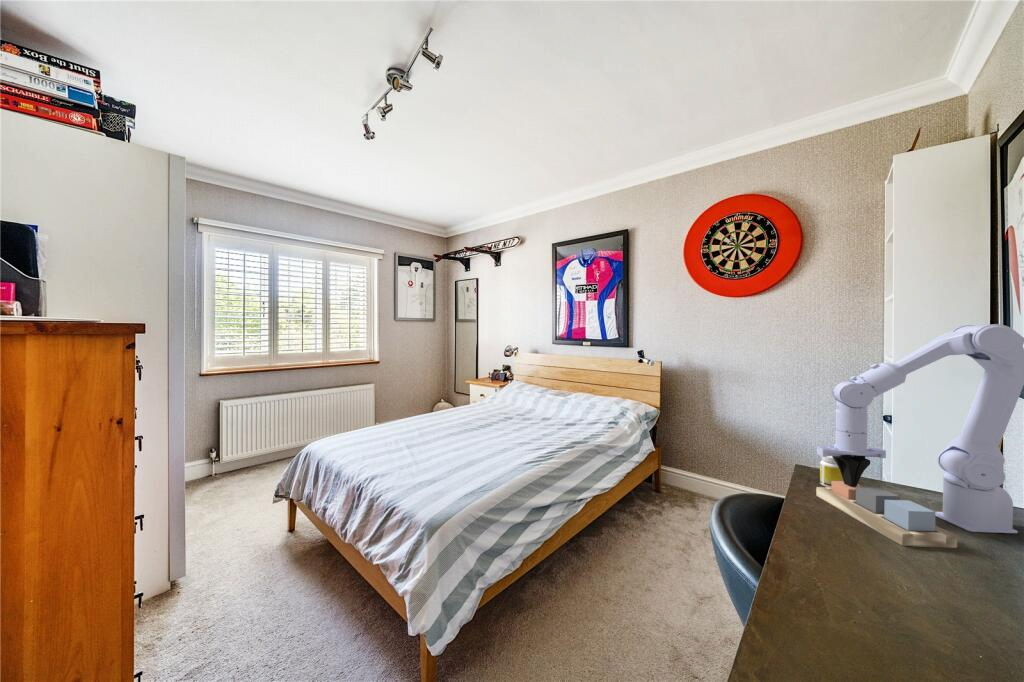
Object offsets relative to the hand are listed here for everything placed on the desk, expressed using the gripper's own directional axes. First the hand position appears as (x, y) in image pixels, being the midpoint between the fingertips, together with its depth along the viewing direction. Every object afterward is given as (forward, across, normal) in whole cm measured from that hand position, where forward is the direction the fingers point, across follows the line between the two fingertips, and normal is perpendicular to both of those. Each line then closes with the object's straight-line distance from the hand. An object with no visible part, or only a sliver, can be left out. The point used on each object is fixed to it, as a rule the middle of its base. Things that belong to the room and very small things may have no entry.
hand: (850, 485), depth 89 cm
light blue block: (+2, 0, +14) cm, 14 cm away
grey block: (+2, 0, +7) cm, 7 cm away
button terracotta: (+4, 0, 0) cm, 4 cm away
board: (+5, 0, +7) cm, 8 cm away
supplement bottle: (+5, -4, -11) cm, 13 cm away
